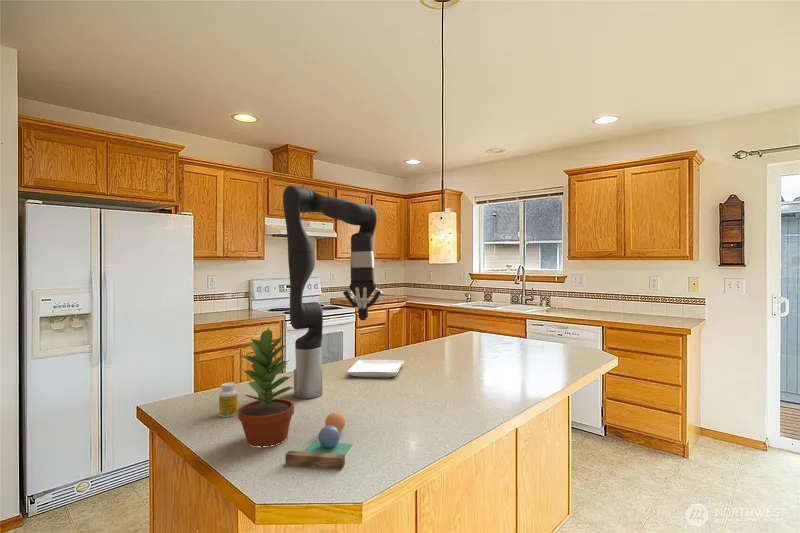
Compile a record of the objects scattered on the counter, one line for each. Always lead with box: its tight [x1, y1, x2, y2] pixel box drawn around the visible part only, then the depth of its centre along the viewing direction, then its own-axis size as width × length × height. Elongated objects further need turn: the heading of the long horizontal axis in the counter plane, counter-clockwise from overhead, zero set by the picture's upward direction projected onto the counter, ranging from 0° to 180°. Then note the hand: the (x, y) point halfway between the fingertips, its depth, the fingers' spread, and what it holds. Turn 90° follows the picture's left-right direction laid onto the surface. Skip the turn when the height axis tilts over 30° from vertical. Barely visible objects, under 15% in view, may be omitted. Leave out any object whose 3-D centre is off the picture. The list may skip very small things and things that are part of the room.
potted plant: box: [237, 326, 296, 447], centre depth 115 cm, size 15×15×30 cm
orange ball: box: [324, 411, 346, 433], centre depth 119 cm, size 6×6×6 cm
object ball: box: [317, 425, 341, 448], centre depth 110 cm, size 6×6×6 cm
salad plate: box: [347, 359, 405, 378], centre depth 183 cm, size 21×21×3 cm
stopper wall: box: [284, 450, 346, 470], centre depth 101 cm, size 14×2×2 cm, turn 79°
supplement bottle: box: [218, 381, 239, 418], centre depth 135 cm, size 5×5×10 cm
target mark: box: [302, 440, 353, 456], centre depth 107 cm, size 11×11×1 cm
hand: (363, 319), depth 137 cm, fingers closed
